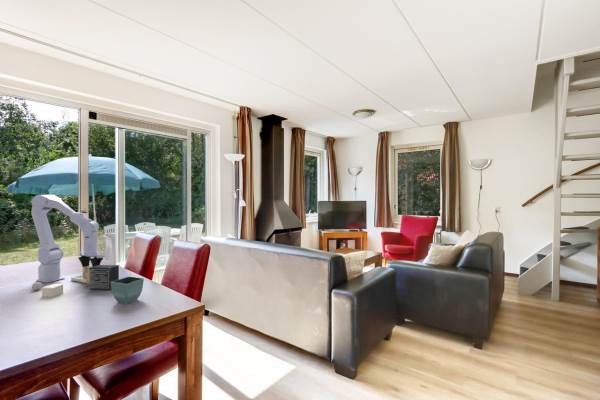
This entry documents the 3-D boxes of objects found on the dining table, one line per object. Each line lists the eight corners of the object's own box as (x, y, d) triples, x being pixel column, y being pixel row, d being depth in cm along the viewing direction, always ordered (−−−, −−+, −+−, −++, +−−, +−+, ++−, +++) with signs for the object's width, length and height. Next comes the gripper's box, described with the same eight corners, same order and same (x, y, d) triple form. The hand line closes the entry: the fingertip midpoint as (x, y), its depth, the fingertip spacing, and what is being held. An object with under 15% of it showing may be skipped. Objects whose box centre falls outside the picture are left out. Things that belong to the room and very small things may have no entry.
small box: (120, 286, 142) (119, 264, 142) (110, 290, 136) (109, 268, 136) (99, 285, 143) (99, 264, 143) (88, 289, 137) (88, 267, 137)
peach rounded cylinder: (85, 284, 145) (84, 274, 145) (94, 282, 149) (94, 272, 149) (90, 285, 143) (90, 275, 143) (99, 283, 147) (99, 273, 147)
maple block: (82, 278, 152) (82, 267, 152) (91, 276, 157) (91, 265, 156) (88, 279, 151) (88, 268, 151) (97, 277, 155) (97, 266, 155)
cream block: (42, 296, 128) (42, 287, 128) (52, 293, 133) (52, 284, 133) (53, 297, 128) (53, 288, 128) (63, 293, 133) (63, 284, 133)
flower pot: (144, 299, 125) (144, 278, 125) (126, 306, 117) (126, 284, 117) (129, 296, 128) (128, 276, 128) (110, 303, 120) (109, 281, 119)
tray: (71, 280, 151) (71, 277, 151) (95, 274, 162) (95, 271, 162) (86, 283, 146) (86, 280, 146) (110, 277, 157) (110, 273, 157)
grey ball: (30, 290, 136) (29, 282, 136) (39, 288, 139) (39, 280, 139) (34, 291, 134) (34, 283, 134) (44, 289, 138) (43, 281, 138)
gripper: (73, 244, 153) (73, 270, 153) (91, 246, 147) (91, 273, 148) (87, 242, 159) (87, 267, 160) (105, 244, 154) (105, 270, 154)
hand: (90, 270), depth 154 cm, fingers open, 7 cm apart
